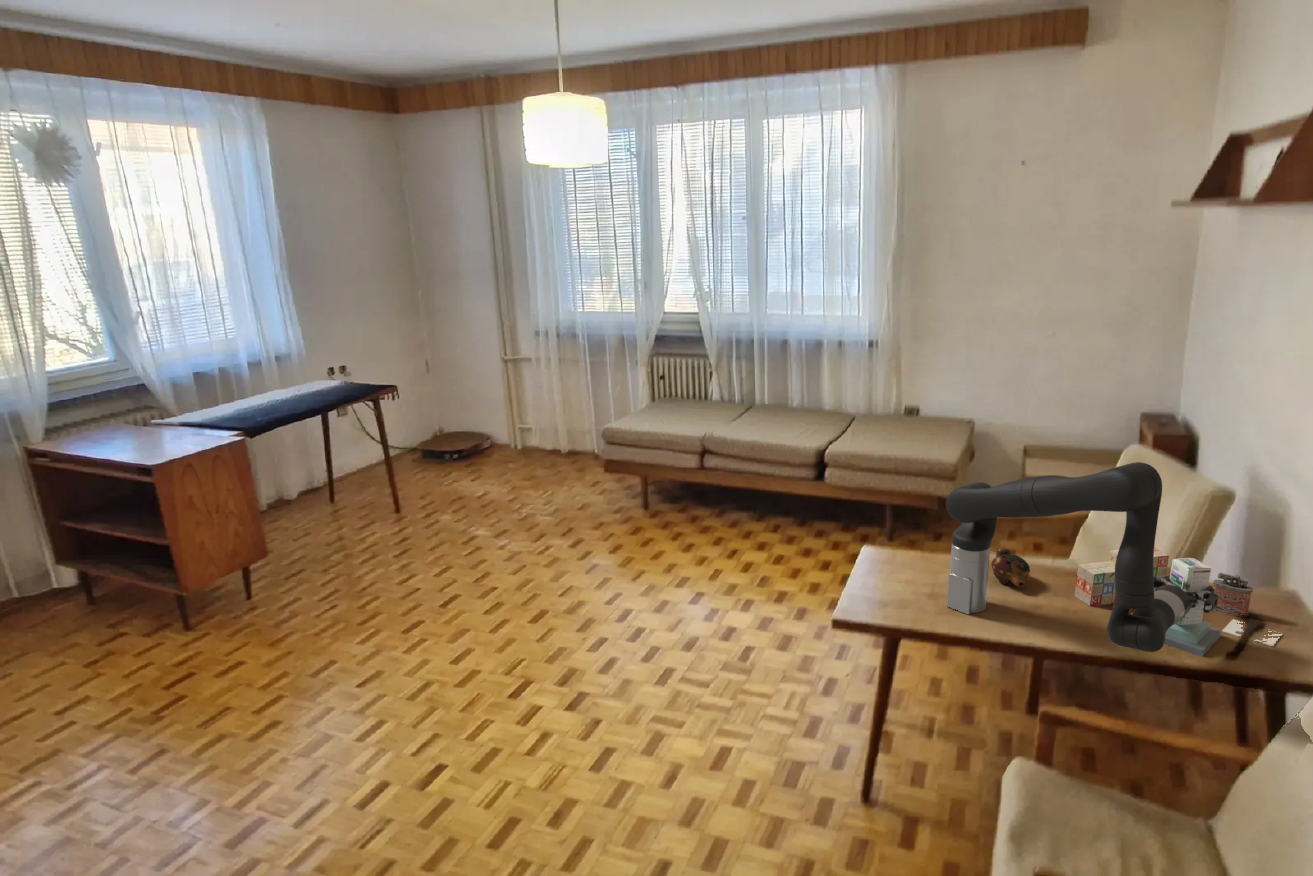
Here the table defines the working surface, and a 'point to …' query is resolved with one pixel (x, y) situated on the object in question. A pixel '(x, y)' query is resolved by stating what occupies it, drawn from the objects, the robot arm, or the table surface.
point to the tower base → (1194, 647)
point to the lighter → (1232, 594)
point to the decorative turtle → (1010, 567)
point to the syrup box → (1190, 583)
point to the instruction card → (1237, 631)
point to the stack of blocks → (1109, 578)
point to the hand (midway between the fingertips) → (1190, 584)
